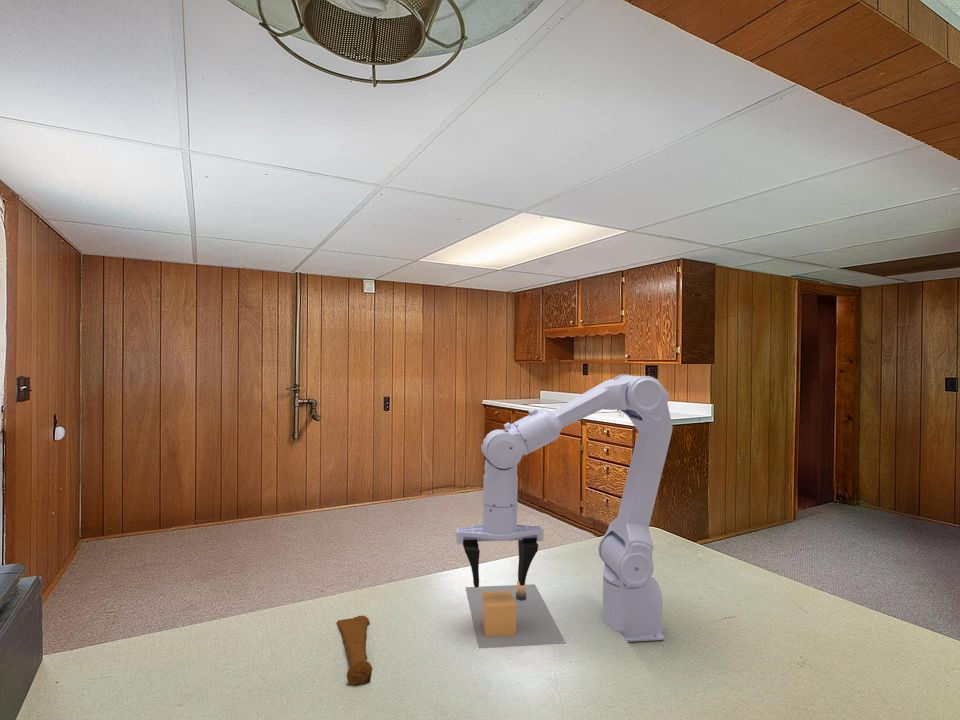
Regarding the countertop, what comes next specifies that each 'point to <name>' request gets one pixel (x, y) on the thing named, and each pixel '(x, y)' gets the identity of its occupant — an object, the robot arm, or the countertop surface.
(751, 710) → the countertop surface
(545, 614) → the board
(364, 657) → the primitive tool
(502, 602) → the wooden cube
